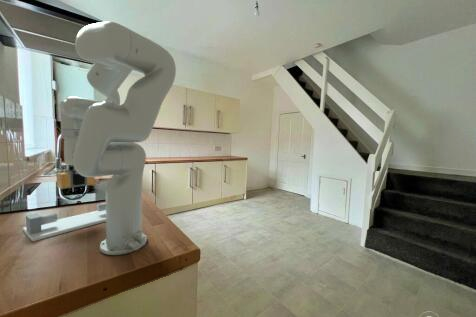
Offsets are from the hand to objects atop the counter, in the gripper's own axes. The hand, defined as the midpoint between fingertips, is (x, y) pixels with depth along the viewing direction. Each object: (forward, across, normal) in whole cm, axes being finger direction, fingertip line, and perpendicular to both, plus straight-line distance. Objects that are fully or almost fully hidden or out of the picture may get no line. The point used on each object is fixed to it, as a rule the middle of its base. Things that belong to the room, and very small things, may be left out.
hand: (76, 183), depth 75 cm
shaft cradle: (+15, -2, 0) cm, 15 cm away
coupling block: (+1, 0, 0) cm, 1 cm away
